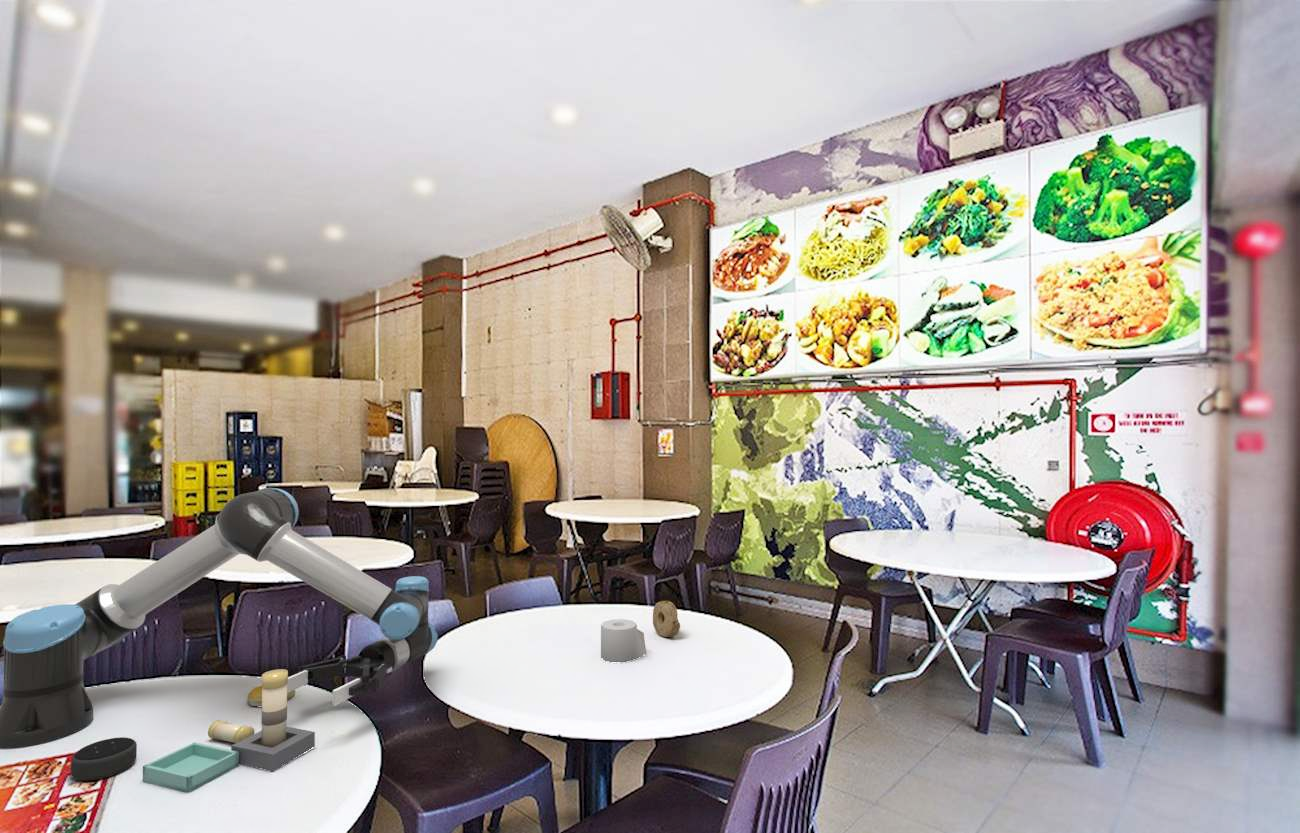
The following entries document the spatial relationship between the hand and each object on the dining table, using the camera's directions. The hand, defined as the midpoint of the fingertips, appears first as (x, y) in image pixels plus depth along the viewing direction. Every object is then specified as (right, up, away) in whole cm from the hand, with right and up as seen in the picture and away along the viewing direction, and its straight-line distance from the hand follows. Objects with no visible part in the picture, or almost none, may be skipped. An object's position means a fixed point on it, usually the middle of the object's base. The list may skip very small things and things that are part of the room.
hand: (306, 693), depth 126 cm
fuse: (-14, -9, -1) cm, 17 cm away
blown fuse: (-3, -9, -6) cm, 11 cm away
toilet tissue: (+60, -10, +46) cm, 76 cm away
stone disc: (+72, -10, +63) cm, 96 cm away
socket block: (-3, -9, -6) cm, 11 cm away
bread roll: (-18, -10, +18) cm, 27 cm away
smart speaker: (-30, -9, -11) cm, 33 cm away
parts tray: (-13, -9, -13) cm, 20 cm away
